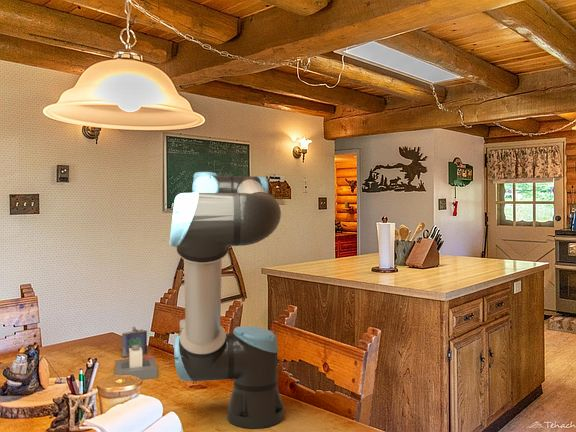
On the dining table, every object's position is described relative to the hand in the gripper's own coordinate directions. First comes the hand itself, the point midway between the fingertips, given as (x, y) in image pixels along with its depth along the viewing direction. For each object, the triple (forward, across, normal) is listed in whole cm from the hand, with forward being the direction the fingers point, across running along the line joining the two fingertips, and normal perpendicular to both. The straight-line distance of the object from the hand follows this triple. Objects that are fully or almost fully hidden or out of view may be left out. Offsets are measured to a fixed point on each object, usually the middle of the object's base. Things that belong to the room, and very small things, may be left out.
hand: (205, 297), depth 155 cm
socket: (+27, +19, -21) cm, 39 cm away
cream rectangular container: (+27, +19, -21) cm, 39 cm away
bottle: (+27, 0, -27) cm, 39 cm away
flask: (+27, +17, -43) cm, 54 cm away
